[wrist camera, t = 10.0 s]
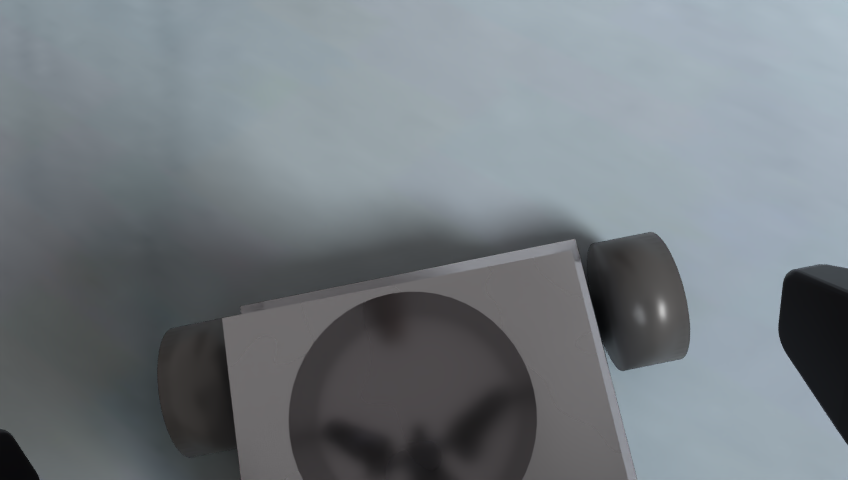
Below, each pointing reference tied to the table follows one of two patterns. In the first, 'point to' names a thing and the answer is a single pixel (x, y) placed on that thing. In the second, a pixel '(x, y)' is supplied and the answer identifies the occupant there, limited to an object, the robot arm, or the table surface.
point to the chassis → (606, 265)
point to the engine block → (426, 382)
